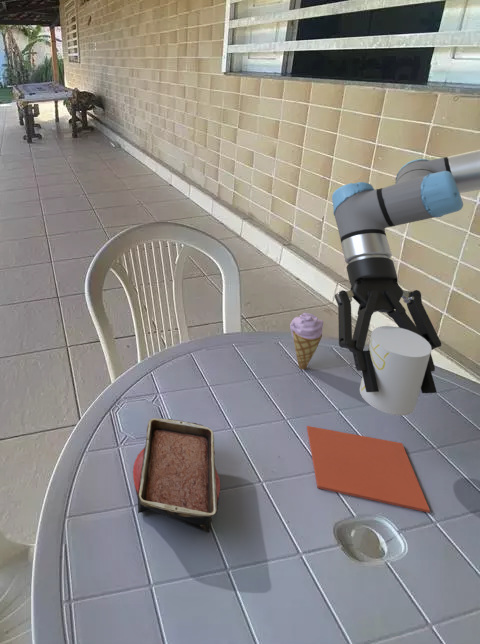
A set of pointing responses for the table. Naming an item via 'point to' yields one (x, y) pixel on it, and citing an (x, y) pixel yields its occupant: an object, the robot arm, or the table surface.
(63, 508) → the table surface
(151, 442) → the baking dish
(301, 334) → the ice cream cone
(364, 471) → the mat
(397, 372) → the cup
